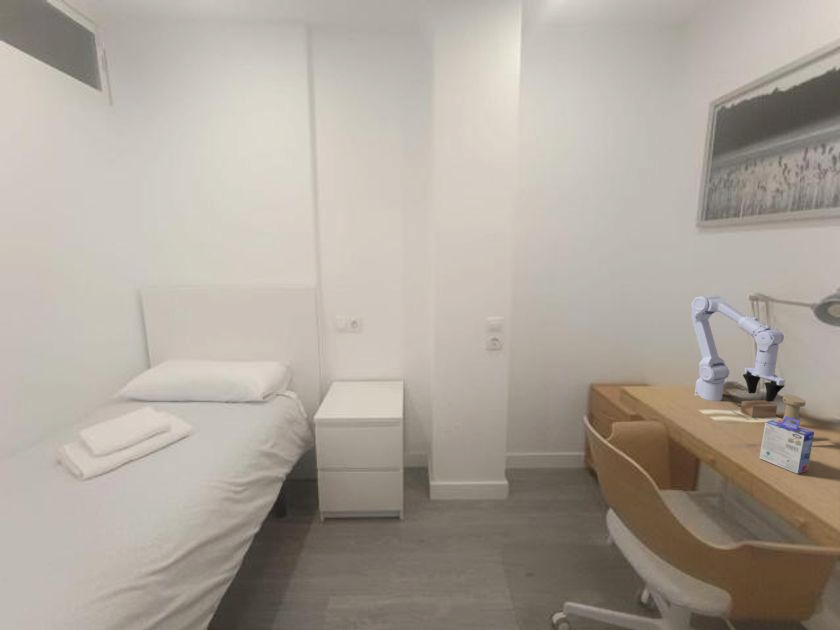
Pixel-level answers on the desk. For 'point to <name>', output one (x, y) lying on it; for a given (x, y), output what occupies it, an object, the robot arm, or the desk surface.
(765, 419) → the sanding board
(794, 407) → the handle
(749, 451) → the desk surface
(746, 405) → the sanding block
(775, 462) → the ink cartridge box
